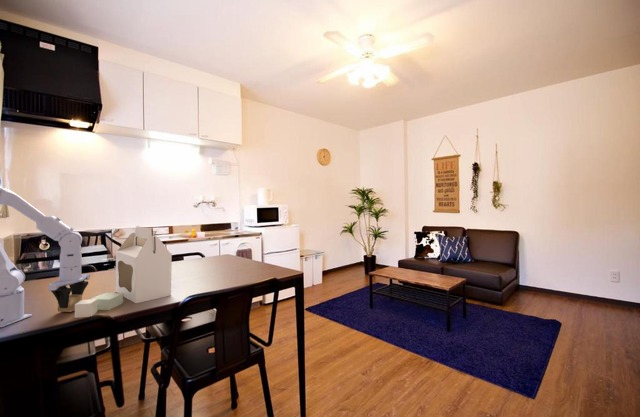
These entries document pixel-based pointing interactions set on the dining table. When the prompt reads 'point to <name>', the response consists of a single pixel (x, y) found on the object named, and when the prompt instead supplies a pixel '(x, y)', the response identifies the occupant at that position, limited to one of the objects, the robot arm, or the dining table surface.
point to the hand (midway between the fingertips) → (70, 305)
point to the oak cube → (71, 303)
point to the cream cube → (86, 308)
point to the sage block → (109, 300)
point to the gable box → (143, 267)
